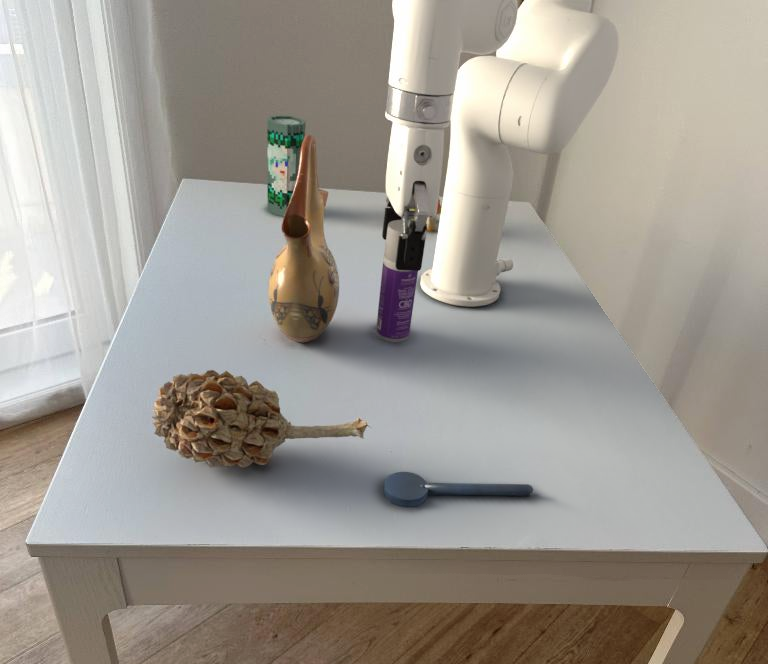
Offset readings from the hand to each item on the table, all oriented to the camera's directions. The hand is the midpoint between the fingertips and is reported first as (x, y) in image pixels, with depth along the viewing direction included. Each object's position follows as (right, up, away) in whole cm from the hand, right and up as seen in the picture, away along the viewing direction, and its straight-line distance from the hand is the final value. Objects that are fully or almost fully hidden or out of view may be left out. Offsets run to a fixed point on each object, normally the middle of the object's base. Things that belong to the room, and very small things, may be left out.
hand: (400, 253), depth 94 cm
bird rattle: (+6, +19, +41) cm, 46 cm away
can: (-20, +22, +40) cm, 49 cm away
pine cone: (-15, -28, -16) cm, 35 cm away
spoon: (+5, -31, -17) cm, 36 cm away
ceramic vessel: (-13, -9, +5) cm, 17 cm away
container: (-1, -9, +8) cm, 12 cm away
